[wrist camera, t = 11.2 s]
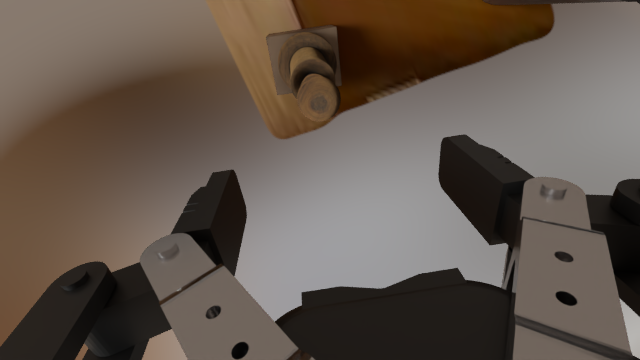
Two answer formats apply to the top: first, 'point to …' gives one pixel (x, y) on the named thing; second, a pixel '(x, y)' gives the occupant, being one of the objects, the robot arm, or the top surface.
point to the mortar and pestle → (310, 74)
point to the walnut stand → (278, 39)
